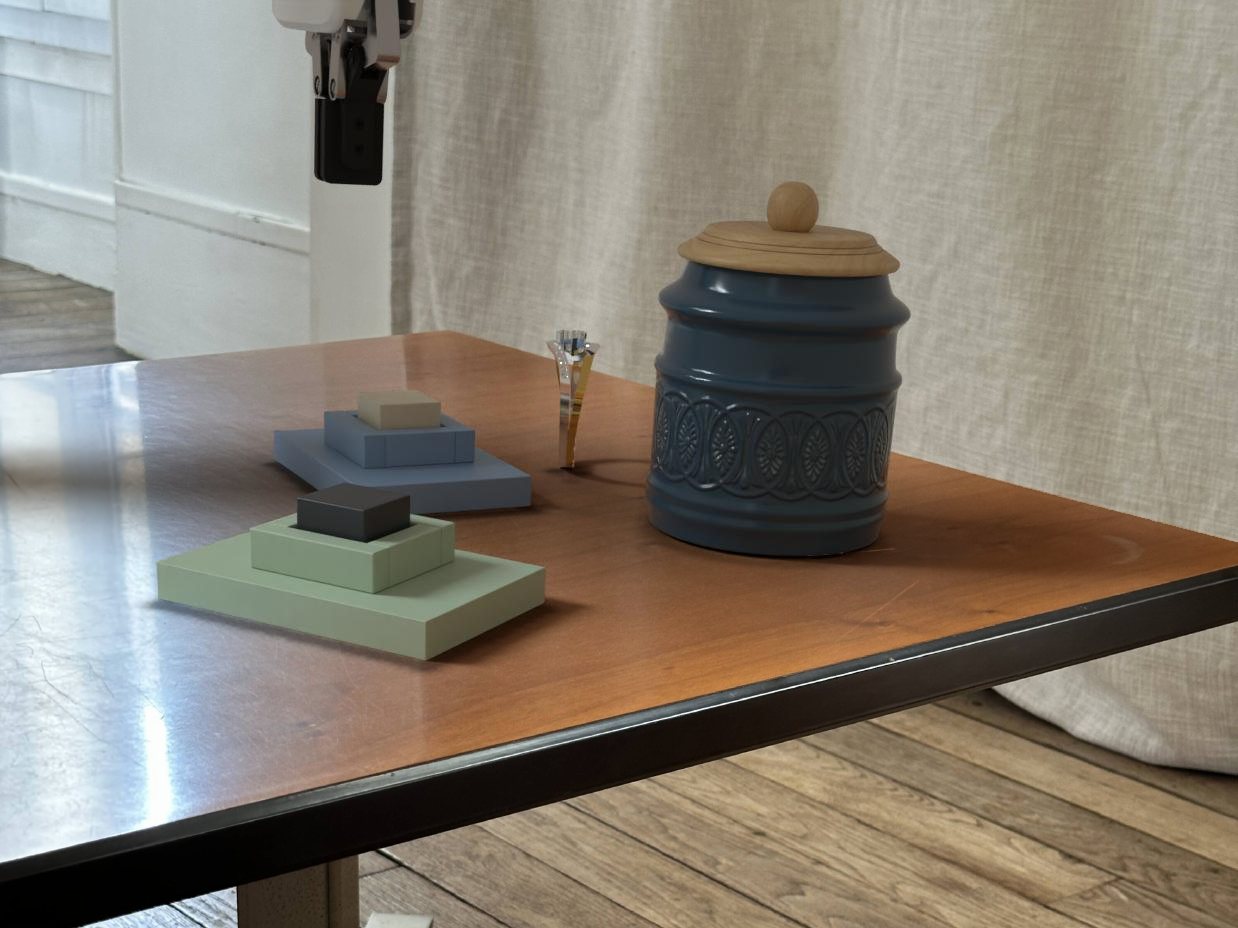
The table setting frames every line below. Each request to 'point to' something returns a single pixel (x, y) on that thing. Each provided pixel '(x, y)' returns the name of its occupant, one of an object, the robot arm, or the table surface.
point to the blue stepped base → (405, 463)
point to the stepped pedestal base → (356, 585)
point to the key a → (353, 512)
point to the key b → (398, 410)
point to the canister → (776, 386)
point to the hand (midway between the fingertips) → (348, 181)
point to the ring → (571, 386)
